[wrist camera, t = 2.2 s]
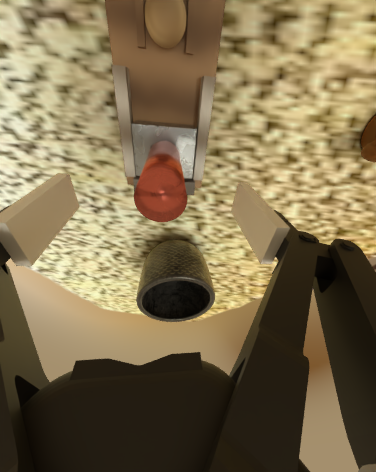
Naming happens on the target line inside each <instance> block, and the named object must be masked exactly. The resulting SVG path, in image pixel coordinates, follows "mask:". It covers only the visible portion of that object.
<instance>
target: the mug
mask: <svg viewBox="0 0 376 472" xmlns="http://www.w3.org/2000/svg"><path fill="white" fill-rule="evenodd" d="M361 146H362V151H361V156H362V157H363V158H364V159H366V160H368V161H371V162H376V115H375V116H374V117H373V118H372V120H371V121H370V122H369V123H368V125H367V126H366V128H365V130H364V132H363V135H362V139H361Z"/></svg>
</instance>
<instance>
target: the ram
mask: <svg viewBox="0 0 376 472" xmlns="http://www.w3.org/2000/svg"><path fill="white" fill-rule="evenodd" d="M196 133H197V129H196V128H195V126H194V125H186V124H175V123H164V122H152V121H141V120H136V121H135V122H133V123H132V135H133V146H134V157H135V167H136V176H140V178H139V181H138V183H137V186H136V189H135V192H134V201H135V205H136V207H137V209H138V210H139V212H140V213H141V214H142V215H143V216H145V217H146V218H148V219H150V220H153V221H157V222H168V221H171V220H174V219H176V218H177V217H179V216H180V215H181V214H182V213H183V211H184V210H185V207H186V205H187V193H186V187H185V182H184V178H189V179H192V174H193V163H194V153H195V143H196Z"/></svg>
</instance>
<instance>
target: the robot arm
mask: <svg viewBox="0 0 376 472" xmlns="http://www.w3.org/2000/svg"><path fill="white" fill-rule="evenodd" d="M78 208H79V204H78V201H77V198H76V194H75V191H74V188H73V185H72V182H71V179H70V175H69V174H61V173H58V174H56V175H55V176H53V177H52V178H50V179H49V180H47V181H46V182H44V183H43V184H42V185H40V186H39V187H37V188H36V189H34V190H33V191H31V192H30V193H28V194H27V195H25V196H24V197H23V198H21V199H20V200H18V201H17V202H15V203H14V204H12V205H10V206H8V207H6V208H4V209H3V210H1V211H0V472H310V471H309V470H308V469H307V467H306V466H305V465H304V464H303V463H302V461H301V460H300V459H299V452H300V443H301V434H302V426H303V418H304V410H305V401H306V392H307V384H308V375H309V360H308V358H307V357H305V356H304V355H303V347H304V341H305V334H306V328H307V321H308V315H309V308H310V301H311V294H312V288H313V289H314V293H315V298H316V302H317V307H318V311H319V316H320V320H321V325H322V329H323V333H324V337H325V342H326V347H327V351H328V355H329V360H330V365H331V369H332V374H333V378H334V383H335V387H336V392H337V396H338V401H339V405H340V409H341V414H342V418H343V422H344V425H345V429H346V433H347V437H348V440H349V443H350V445H351V449H352V451H353V454H354V457H355V460H356V463H357V465H358V468H359V472H376V272H375V270H374V269H373V267H372V266H371V264H370V263H369V261H368V259H367V258H366V256H365V255H364V253H363V251H362V250H361V249H360V248H359V247H358V246H357V245H355V244H354V243H353V242H351V241H348V240H344V239H335V240H334V241H333V242H332V243H331V245H327V244H322V243H319V240H318V239H317V238H316V237H315V236H313V235H311V234H309V233H306V232H303V231H298V230H297V229H296V228H295V227H294V226H293V225H292V224H291V223H290V222H288V220H287V219H285V217H284V216H283V215H282V214H281V213H279V212H277V211H276V210H273V209H272V208H271V207H270V206H269V205H268V204H267V203H266V202H265V201H264V200H263V199H262V198H261V197H260V196H259V195H258V193H257V192H256V191H255V190H254V189H253V188H252V187H251V186H250V185H249V184H248V183H243V182H238V186H237V190H236V194H235V198H234V202H233V206H232V210H231V212H232V214H233V216H234V218H235V219H236V221H237V223H238V225H239V226H240V228H241V230H242V232H243V234H244V235H245V237H246V239H247V241H248V242H249V244H250V246H251V248H252V250H253V251H254V253H255V255H256V257H257V258H258V260H259V262H260V264H272V262H273V260H274V258H275V257H276V258H277V259H278V263H277V265H276V267H275V269H274V271H273V273H272V274H273V275H272V277H271V280H270V282H269V284H268V287H267V289H266V292H265V294H264V296H263V299H262V301H261V304H260V306H259V308H258V311H257V313H256V316H255V318H254V320H253V323H252V325H251V328H250V330H249V333H248V335H247V337H246V340H245V342H244V344H243V347H242V349H241V352H240V354H239V356H238V359H237V361H236V363H235V365H234V367H233V369H232V371H231V373H230V375H229V376H228V375H227V374H226V373H225V372H224V371H222V370H221V369H220V368H218V367H216V366H215V365H213V364H210V363H208V362H205V361H202V360H201V355H200V352H197V353H196V352H195V353H181V354H171V355H168V356H165V357H163V358H160V359H158V360H154V361H152V362H149V363H146V364H144V365H133V364H129V363H125V362H121V361H117V360H112V359H94V360H81V361H76V362H75V365H74V368H73V371H71V372H68V373H66V374H64V375H62V376H60V377H58V378H57V379H55V380H54V381H52V382H49V380H48V379H47V377H46V375H45V374H44V371H43V369H42V366H41V363H40V360H39V357H38V354H37V351H36V348H35V345H34V342H33V339H32V336H31V333H30V330H29V327H28V324H27V321H26V318H25V315H24V312H23V309H22V306H21V303H20V300H19V297H18V294H17V291H16V288H15V285H14V282H13V279H12V276H11V273H10V270H9V267H8V266H7V265H6V262H7V261H8V260H9V259H10V258H11V259H12V260H13V262H14V263H15V264H16V266H32V265H33V264H34V263H35V261H36V260H37V259H38V258H39V256H40V255H41V254H42V253H43V251H44V250H45V249H46V248H47V247H48V245H49V244H50V243H51V242H52V240H53V239H54V238H55V237H56V235H57V234H58V233H59V232H60V230H61V229H62V228H63V227H64V226H65V224H66V223H67V222H68V221H69V219H70V218H71V217H72V216H73V214H74V213H75V212H76V211H77V209H78Z"/></svg>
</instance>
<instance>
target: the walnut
mask: <svg viewBox="0 0 376 472" xmlns="http://www.w3.org/2000/svg"><path fill="white" fill-rule="evenodd" d="M145 22H146V26H147V29H148V32H149V34H150V36H151V38H152V39H153V40H154V42H155V43H156V44H158V45H159V46H161V47H163V48H172V47H174V46H176V45H177V44H178V43H179V42H180V40H181V39H182V37H183V34H184V32H185V27H186V10H185V5H184V2H183V0H146V3H145Z"/></svg>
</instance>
